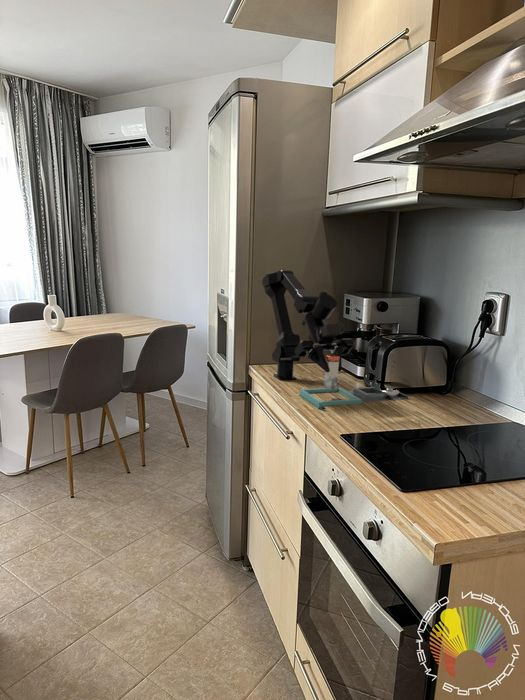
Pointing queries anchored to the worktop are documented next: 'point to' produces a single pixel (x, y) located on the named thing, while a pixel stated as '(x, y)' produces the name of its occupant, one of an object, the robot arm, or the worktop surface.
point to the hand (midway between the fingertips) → (334, 371)
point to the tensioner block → (377, 394)
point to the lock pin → (331, 372)
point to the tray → (319, 404)
